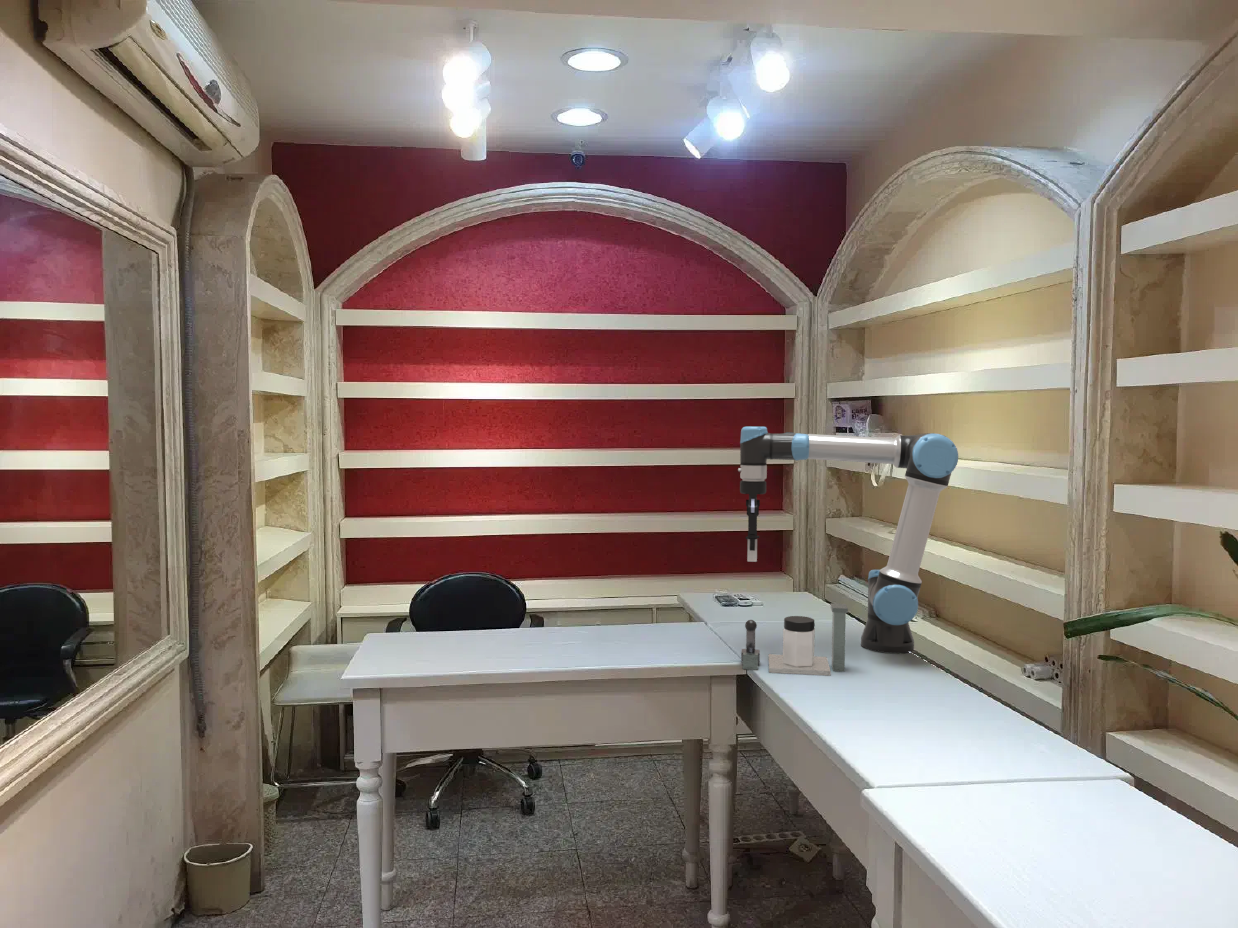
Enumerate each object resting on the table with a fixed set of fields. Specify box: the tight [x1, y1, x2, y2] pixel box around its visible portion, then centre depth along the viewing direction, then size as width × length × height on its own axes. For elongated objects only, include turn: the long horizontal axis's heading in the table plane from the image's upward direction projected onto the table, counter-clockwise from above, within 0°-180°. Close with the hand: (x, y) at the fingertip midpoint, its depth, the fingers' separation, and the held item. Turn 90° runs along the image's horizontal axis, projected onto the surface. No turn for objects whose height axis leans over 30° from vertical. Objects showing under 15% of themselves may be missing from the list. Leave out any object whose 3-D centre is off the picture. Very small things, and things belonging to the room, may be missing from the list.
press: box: [742, 602, 849, 676], centre depth 241 cm, size 28×17×17 cm, turn 81°
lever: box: [740, 619, 761, 663], centre depth 242 cm, size 5×4×11 cm
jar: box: [782, 615, 816, 667], centre depth 239 cm, size 9×8×12 cm
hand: (752, 561), depth 254 cm, fingers closed
